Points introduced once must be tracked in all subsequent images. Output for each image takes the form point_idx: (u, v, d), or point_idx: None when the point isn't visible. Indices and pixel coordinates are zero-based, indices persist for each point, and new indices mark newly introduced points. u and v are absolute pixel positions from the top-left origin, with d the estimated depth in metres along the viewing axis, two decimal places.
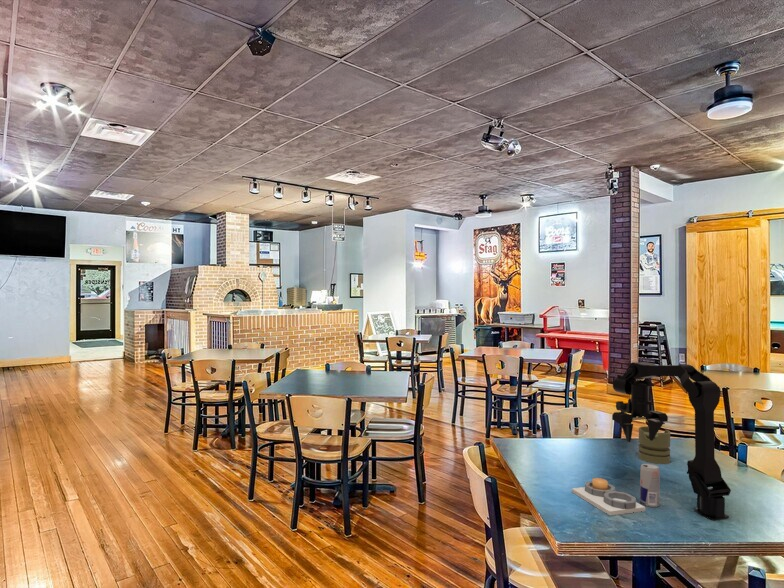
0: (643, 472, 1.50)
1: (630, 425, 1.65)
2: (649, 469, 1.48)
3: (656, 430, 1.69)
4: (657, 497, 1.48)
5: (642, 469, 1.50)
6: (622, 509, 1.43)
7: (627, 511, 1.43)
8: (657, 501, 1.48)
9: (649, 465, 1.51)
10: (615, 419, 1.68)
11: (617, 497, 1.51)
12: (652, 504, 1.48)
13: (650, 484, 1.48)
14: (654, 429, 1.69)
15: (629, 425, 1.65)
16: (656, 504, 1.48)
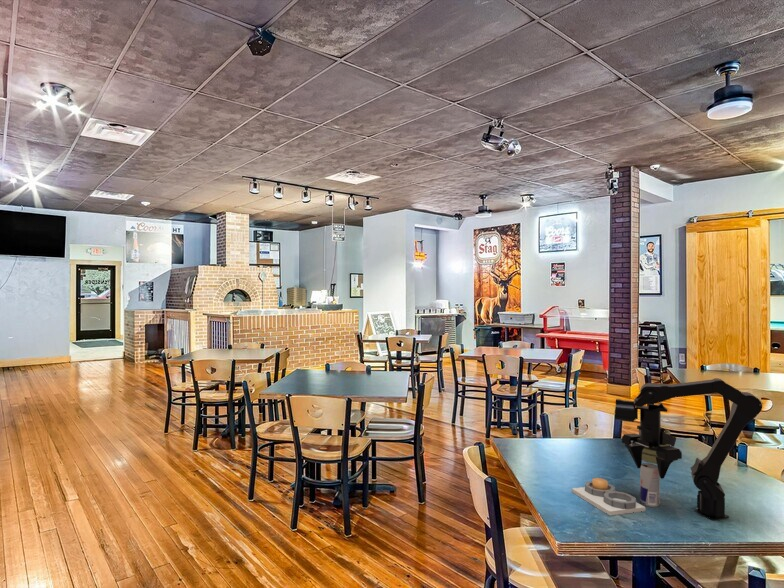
0: (643, 472, 1.50)
1: (628, 447, 1.56)
2: (649, 469, 1.48)
3: (658, 466, 1.45)
4: (657, 497, 1.48)
5: (642, 469, 1.50)
6: (622, 509, 1.43)
7: (627, 511, 1.43)
8: (657, 501, 1.48)
9: (649, 465, 1.52)
10: None
11: (617, 497, 1.51)
12: (652, 504, 1.48)
13: (650, 484, 1.48)
14: None
15: (627, 446, 1.56)
16: (656, 504, 1.48)
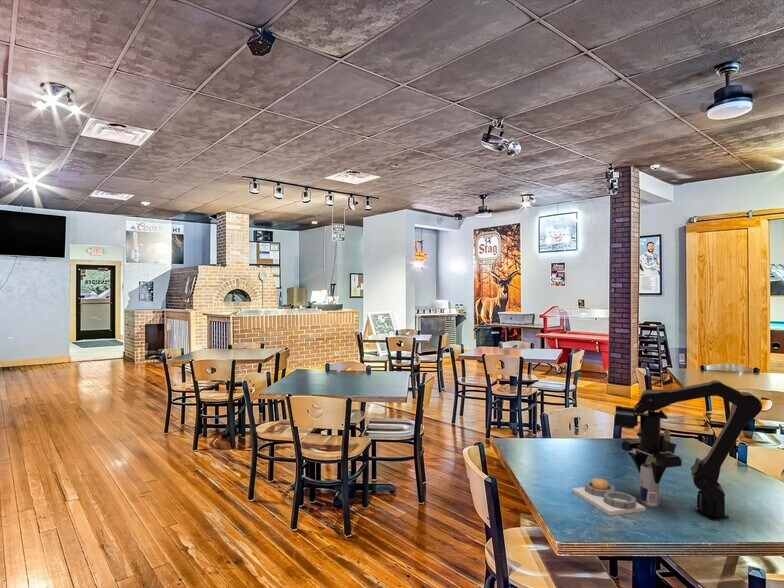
0: (643, 472, 1.50)
1: (632, 455, 1.54)
2: (649, 469, 1.48)
3: (653, 471, 1.47)
4: (657, 497, 1.48)
5: (642, 469, 1.50)
6: (622, 509, 1.43)
7: (627, 511, 1.43)
8: (657, 501, 1.48)
9: (649, 465, 1.52)
10: None
11: (617, 497, 1.51)
12: (652, 504, 1.48)
13: (650, 484, 1.48)
14: None
15: (631, 455, 1.54)
16: (656, 504, 1.48)
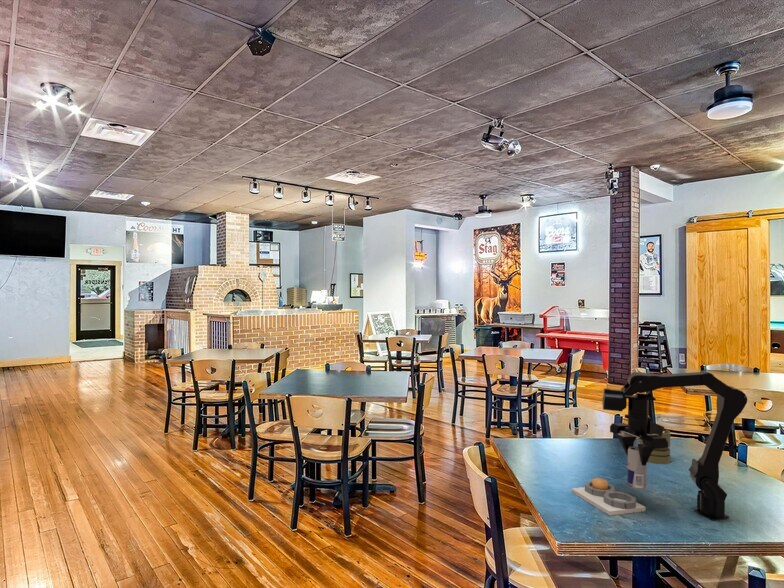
0: (630, 454, 1.49)
1: (619, 437, 1.53)
2: (636, 451, 1.48)
3: (640, 453, 1.46)
4: (644, 480, 1.47)
5: (629, 451, 1.49)
6: (622, 509, 1.43)
7: (627, 511, 1.43)
8: (644, 484, 1.47)
9: (636, 448, 1.51)
10: None
11: (617, 497, 1.51)
12: (638, 486, 1.47)
13: (637, 466, 1.47)
14: None
15: (618, 437, 1.54)
16: (643, 487, 1.47)
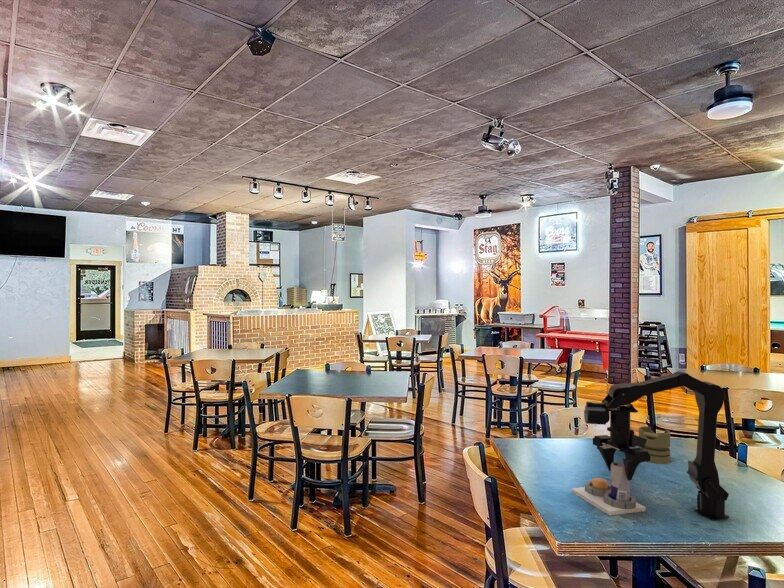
0: (613, 470, 1.47)
1: (600, 449, 1.53)
2: (619, 467, 1.46)
3: (625, 467, 1.43)
4: (627, 496, 1.45)
5: (612, 467, 1.48)
6: (622, 509, 1.43)
7: (627, 511, 1.43)
8: (627, 500, 1.45)
9: (619, 463, 1.49)
10: None
11: None
12: None
13: (620, 482, 1.45)
14: None
15: (599, 449, 1.53)
16: None
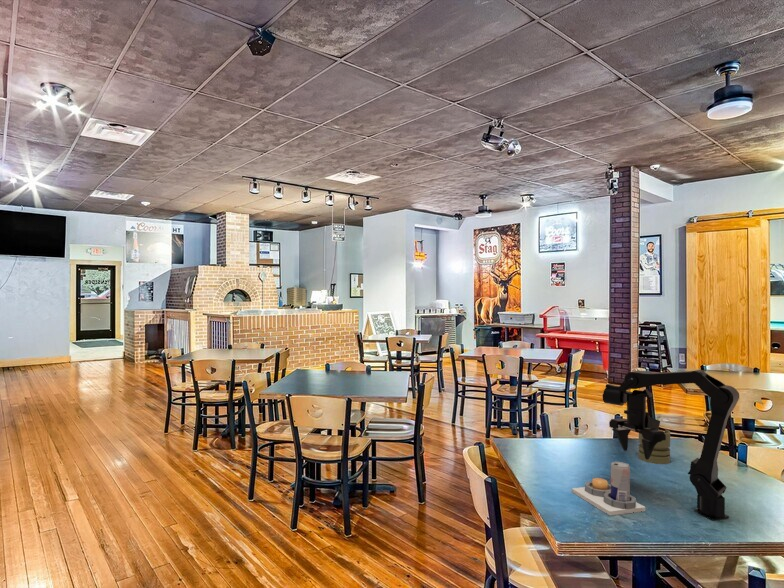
0: (613, 470, 1.47)
1: (615, 431, 1.64)
2: (619, 467, 1.46)
3: (643, 447, 1.54)
4: (627, 496, 1.45)
5: (612, 467, 1.48)
6: (622, 509, 1.43)
7: (627, 511, 1.43)
8: (627, 500, 1.45)
9: (619, 463, 1.49)
10: None
11: None
12: None
13: (620, 482, 1.45)
14: None
15: (614, 430, 1.65)
16: None
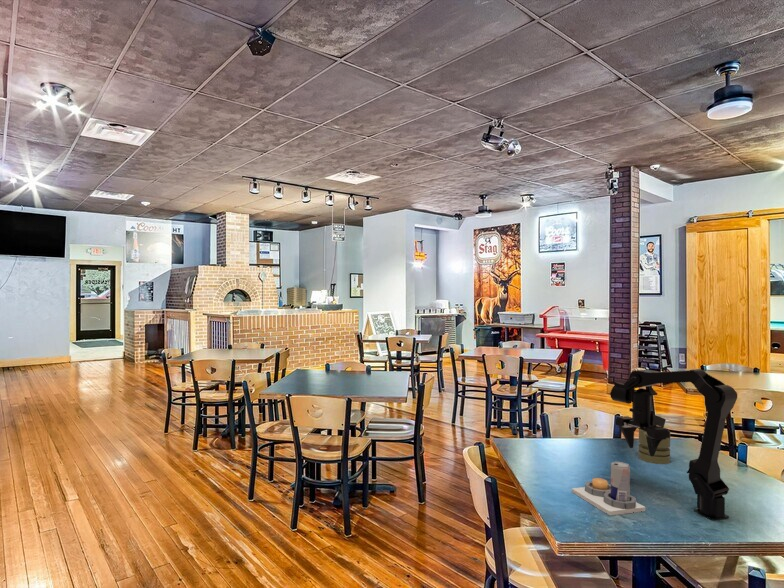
0: (613, 470, 1.47)
1: (621, 428, 1.68)
2: (619, 467, 1.46)
3: (648, 444, 1.57)
4: (627, 496, 1.45)
5: (612, 467, 1.48)
6: (622, 509, 1.43)
7: (627, 511, 1.43)
8: (627, 500, 1.45)
9: (619, 463, 1.49)
10: None
11: None
12: None
13: (620, 482, 1.45)
14: None
15: (620, 428, 1.69)
16: None
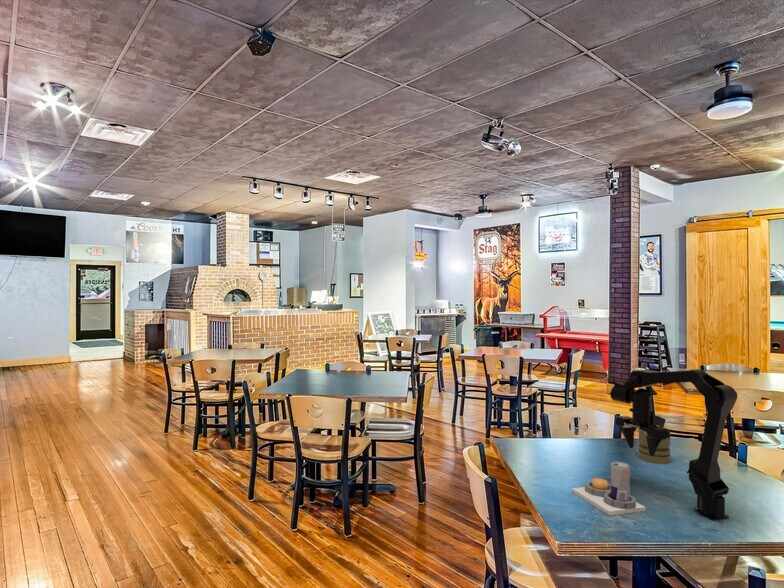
0: (613, 470, 1.47)
1: (621, 428, 1.68)
2: (619, 467, 1.46)
3: (648, 444, 1.57)
4: (627, 496, 1.45)
5: (612, 467, 1.48)
6: (622, 509, 1.43)
7: (627, 511, 1.43)
8: (627, 500, 1.45)
9: (619, 463, 1.49)
10: None
11: None
12: None
13: (620, 482, 1.45)
14: None
15: (620, 428, 1.69)
16: None
